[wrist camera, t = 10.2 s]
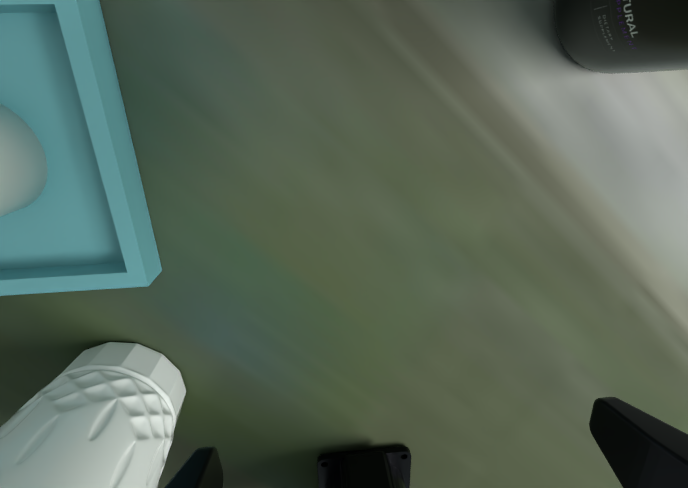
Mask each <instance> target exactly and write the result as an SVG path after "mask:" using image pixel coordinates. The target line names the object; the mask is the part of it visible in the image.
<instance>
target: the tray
mask: <svg viewBox="0 0 688 488" xmlns="http://www.w3.org/2000/svg"><path fill="white" fill-rule="evenodd" d="M0 104H2V105H4V106H6V107H7V108H9V109H10V110H12V111H13V112H14V113H16V114H17V115H18V116H19V117H20V118H21V119H22V120H23V121H24V122H26V123H27V125H28V126H29V127H30V128H31V129H32V131H33V132H34V133H35V135H36V136H37V138H38V140H39V142H40V143H41V145H42V148H43V150H44V153H45V156H46V160H47V168H48V173H47V181H46V184H45V187H44V189H43V191H42V193H41V194H40V196H39V197H38V198H37V199H36V200H35V201H34V202H33V203H31V204H30V205H28V206H26V207H24V208H22V209H19V210H17V211H14V212H11V213H9V214H6V215H3V216H1V217H0V296H3V295H18V294H34V293H50V292H66V291H82V290H97V289H113V288H129V287H145V286H149V285H150V284H151V283H152V282H153V280H154V279H155V278H156V277H157V276H158V275H159V273H160V272H161V271H162V268H161V263H160V259H159V255H158V250H157V246H156V242H155V237H154V233H153V229H152V225H151V220H150V216H149V212H148V207H147V203H146V199H145V194H144V190H143V186H142V182H141V177H140V173H139V169H138V164H137V160H136V156H135V151H134V147H133V143H132V139H131V134H130V130H129V126H128V121H127V117H126V113H125V108H124V104H123V100H122V96H121V91H120V87H119V83H118V78H117V74H116V70H115V65H114V61H113V57H112V53H111V48H110V44H109V40H108V35H107V31H106V27H105V22H104V18H103V14H102V10H101V5H100V1H99V0H0Z"/></svg>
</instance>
